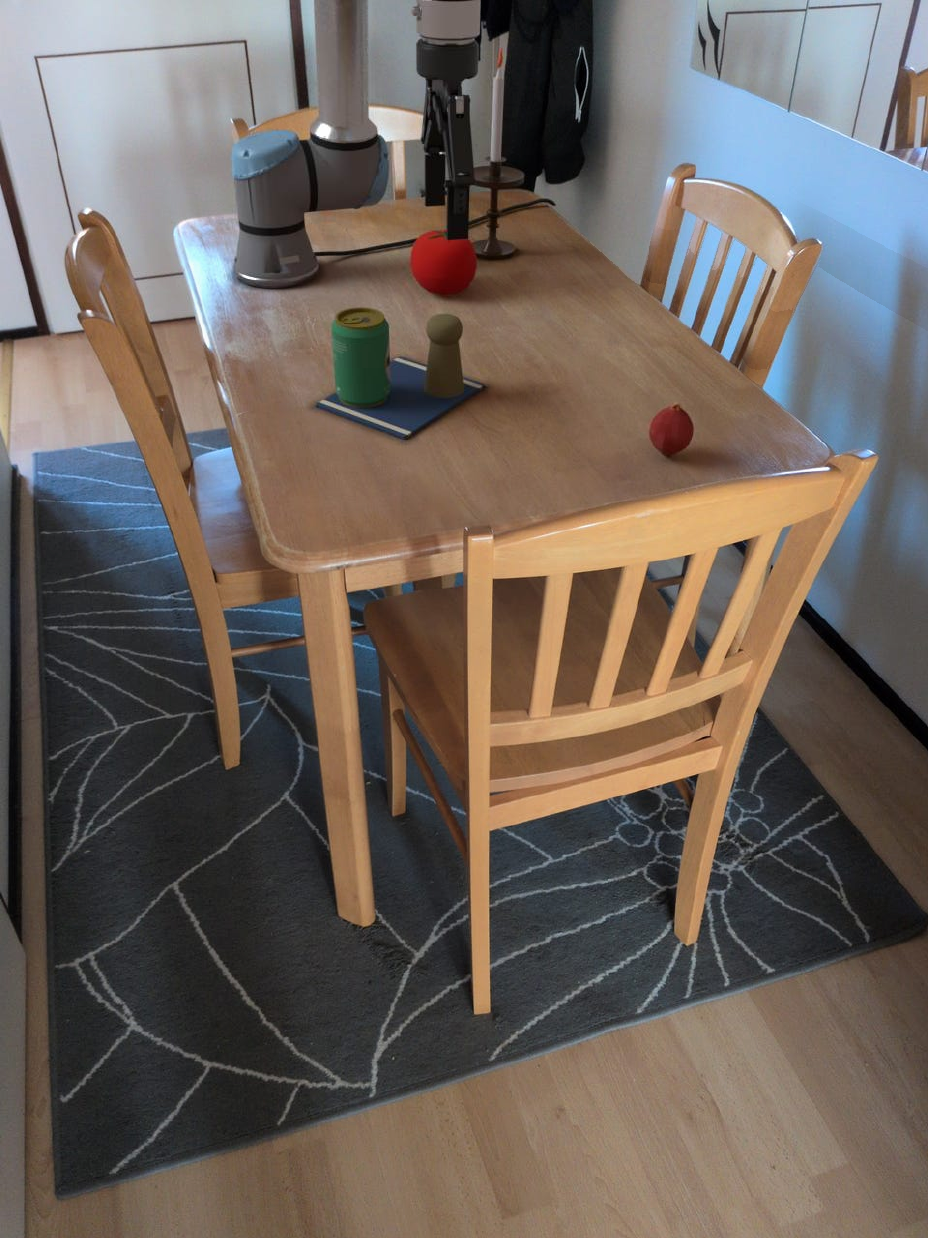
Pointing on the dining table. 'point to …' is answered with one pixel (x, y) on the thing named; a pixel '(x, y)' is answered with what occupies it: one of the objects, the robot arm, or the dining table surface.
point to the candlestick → (496, 179)
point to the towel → (402, 402)
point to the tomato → (443, 263)
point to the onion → (671, 430)
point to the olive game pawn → (444, 357)
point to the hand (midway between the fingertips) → (445, 221)
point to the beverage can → (361, 357)
